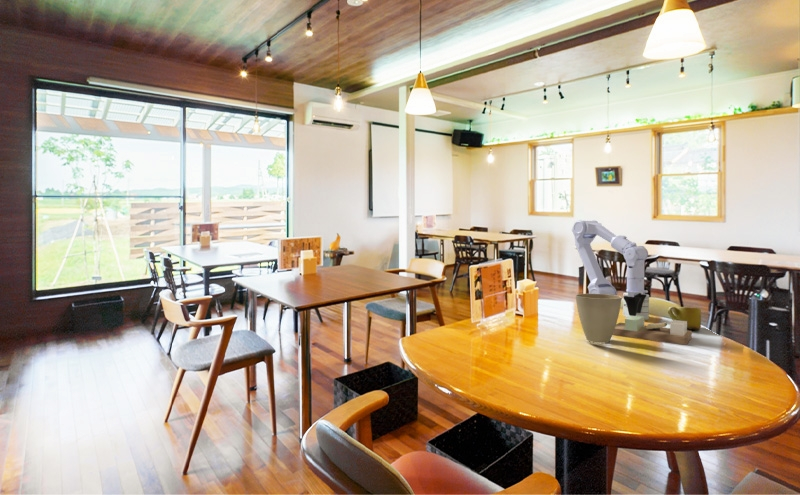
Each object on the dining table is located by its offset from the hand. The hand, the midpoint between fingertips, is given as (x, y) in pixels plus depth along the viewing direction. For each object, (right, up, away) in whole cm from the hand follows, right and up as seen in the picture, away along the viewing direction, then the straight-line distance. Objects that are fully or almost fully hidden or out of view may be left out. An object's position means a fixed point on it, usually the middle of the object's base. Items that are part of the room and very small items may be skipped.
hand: (634, 314), depth 162 cm
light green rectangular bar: (0, -5, 0) cm, 5 cm away
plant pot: (-18, -8, -10) cm, 22 cm away
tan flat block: (+6, -4, -4) cm, 8 cm away
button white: (+11, -5, -9) cm, 15 cm away
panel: (+4, -8, -2) cm, 9 cm away
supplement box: (+13, -8, +23) cm, 28 cm away
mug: (+23, -8, +7) cm, 25 cm away
